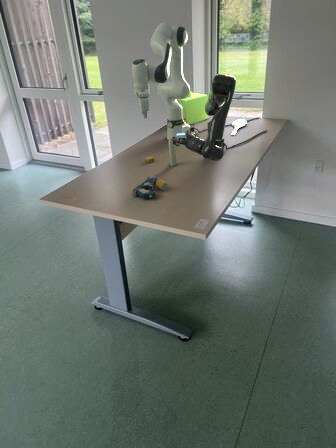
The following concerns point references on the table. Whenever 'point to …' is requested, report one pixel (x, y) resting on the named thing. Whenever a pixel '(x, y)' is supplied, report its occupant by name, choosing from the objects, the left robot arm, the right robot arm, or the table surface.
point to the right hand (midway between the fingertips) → (179, 136)
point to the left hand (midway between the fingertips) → (144, 116)
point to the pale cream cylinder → (172, 152)
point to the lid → (149, 159)
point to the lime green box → (194, 107)
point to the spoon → (238, 125)
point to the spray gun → (149, 187)
